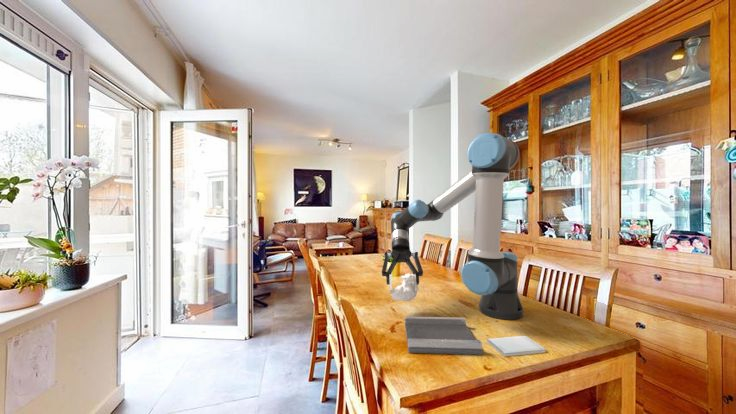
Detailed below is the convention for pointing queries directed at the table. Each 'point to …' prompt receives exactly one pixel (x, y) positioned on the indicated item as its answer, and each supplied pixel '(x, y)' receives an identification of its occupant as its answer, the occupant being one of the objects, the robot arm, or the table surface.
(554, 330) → the table surface
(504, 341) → the hard drive
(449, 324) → the rail plate
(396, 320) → the table surface
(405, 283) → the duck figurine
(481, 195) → the robot arm
